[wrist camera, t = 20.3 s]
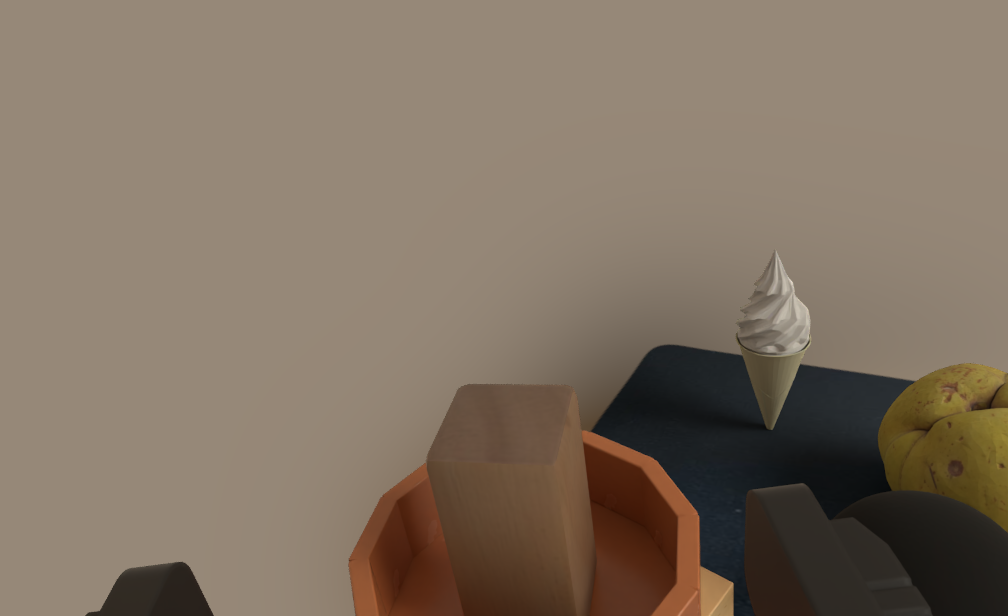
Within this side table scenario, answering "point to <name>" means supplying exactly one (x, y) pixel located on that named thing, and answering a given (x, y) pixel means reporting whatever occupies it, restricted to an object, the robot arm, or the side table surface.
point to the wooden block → (515, 500)
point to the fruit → (951, 438)
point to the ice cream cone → (773, 338)
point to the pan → (617, 533)
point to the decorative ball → (942, 549)
